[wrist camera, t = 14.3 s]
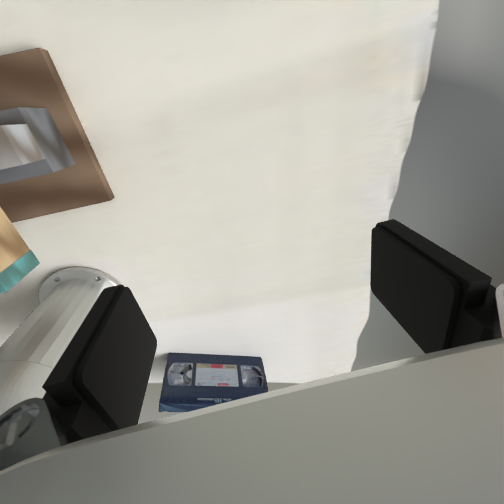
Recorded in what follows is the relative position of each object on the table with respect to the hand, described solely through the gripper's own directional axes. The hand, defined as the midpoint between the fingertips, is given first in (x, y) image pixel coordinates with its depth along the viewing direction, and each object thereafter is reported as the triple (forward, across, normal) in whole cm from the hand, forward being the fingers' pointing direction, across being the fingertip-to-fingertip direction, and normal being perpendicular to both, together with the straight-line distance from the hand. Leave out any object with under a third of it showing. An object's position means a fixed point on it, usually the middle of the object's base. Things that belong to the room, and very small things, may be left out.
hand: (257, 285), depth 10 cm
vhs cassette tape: (+29, +11, +36) cm, 47 cm away
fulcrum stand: (+28, +24, -7) cm, 38 cm away
